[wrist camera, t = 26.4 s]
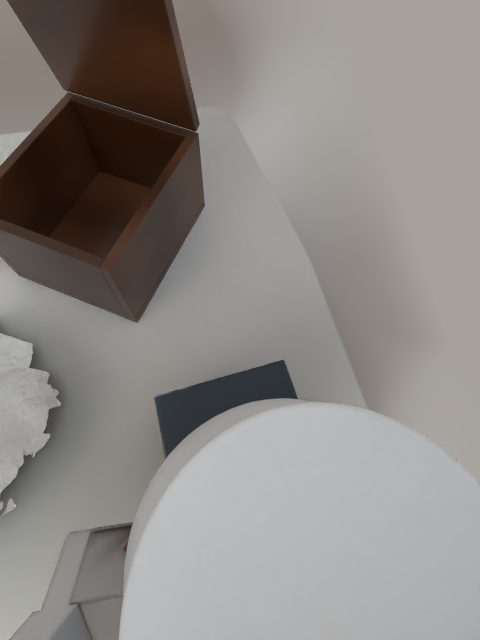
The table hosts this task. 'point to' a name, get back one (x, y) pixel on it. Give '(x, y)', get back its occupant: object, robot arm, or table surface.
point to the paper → (21, 408)
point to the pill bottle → (305, 532)
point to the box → (218, 399)
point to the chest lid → (115, 53)
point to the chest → (99, 203)
